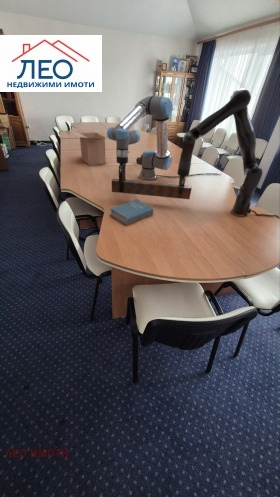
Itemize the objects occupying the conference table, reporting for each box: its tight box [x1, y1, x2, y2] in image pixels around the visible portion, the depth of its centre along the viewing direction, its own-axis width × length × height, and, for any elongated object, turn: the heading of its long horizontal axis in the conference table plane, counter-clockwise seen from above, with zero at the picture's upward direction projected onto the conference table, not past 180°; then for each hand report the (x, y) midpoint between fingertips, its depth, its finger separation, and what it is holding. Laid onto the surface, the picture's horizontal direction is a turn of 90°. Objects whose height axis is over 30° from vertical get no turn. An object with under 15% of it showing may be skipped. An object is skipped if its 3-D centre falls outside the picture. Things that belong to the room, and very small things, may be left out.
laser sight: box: [135, 154, 143, 165], centre depth 237 cm, size 10×22×10 cm, turn 78°
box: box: [70, 129, 108, 166], centre depth 229 cm, size 44×36×27 cm
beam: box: [111, 178, 192, 200], centre depth 153 cm, size 54×4×8 cm, turn 84°
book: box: [109, 199, 154, 226], centre depth 142 cm, size 23×16×5 cm
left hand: (122, 190), depth 156 cm, fingers closed on beam, 4 cm apart
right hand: (179, 192), depth 152 cm, fingers closed on beam, 4 cm apart
